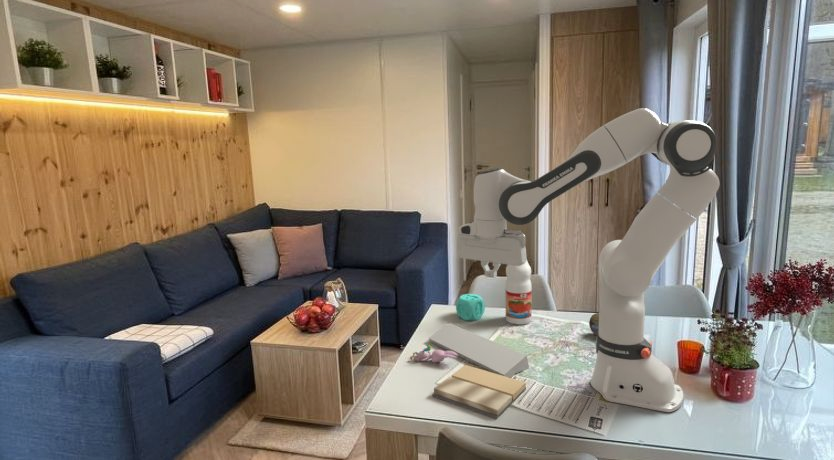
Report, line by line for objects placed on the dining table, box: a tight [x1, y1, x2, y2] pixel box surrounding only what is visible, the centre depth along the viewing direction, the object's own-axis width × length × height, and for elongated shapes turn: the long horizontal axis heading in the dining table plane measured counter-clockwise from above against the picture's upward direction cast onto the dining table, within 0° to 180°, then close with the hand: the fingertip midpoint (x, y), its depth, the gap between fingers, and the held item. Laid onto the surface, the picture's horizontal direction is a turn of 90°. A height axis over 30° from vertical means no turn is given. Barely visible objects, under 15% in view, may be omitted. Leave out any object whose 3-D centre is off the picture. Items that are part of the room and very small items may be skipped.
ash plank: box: [433, 376, 512, 415], centre depth 126 cm, size 19×8×2 cm, turn 53°
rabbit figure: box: [409, 344, 459, 364], centre depth 148 cm, size 6×6×15 cm
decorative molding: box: [428, 322, 530, 378], centre depth 152 cm, size 34×5×10 cm
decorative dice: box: [455, 293, 486, 322], centre depth 183 cm, size 8×8×8 cm
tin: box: [588, 312, 599, 337], centre depth 159 cm, size 15×3×8 cm, turn 40°
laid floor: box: [432, 364, 527, 420], centre depth 129 cm, size 19×17×2 cm
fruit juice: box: [504, 259, 533, 326], centre depth 176 cm, size 9×9×28 cm
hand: (490, 276), depth 134 cm, fingers closed
